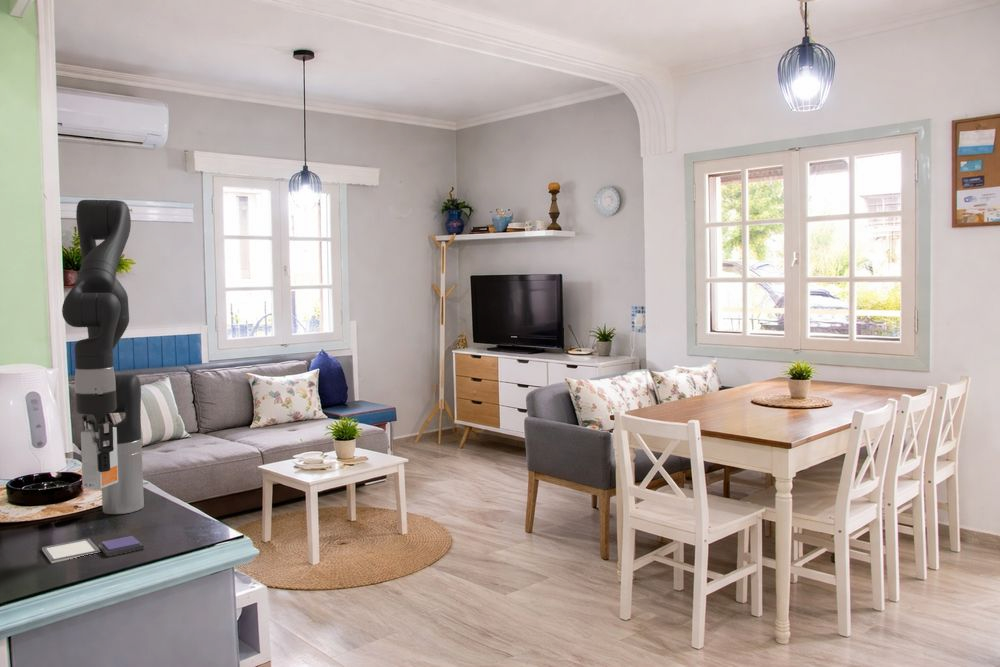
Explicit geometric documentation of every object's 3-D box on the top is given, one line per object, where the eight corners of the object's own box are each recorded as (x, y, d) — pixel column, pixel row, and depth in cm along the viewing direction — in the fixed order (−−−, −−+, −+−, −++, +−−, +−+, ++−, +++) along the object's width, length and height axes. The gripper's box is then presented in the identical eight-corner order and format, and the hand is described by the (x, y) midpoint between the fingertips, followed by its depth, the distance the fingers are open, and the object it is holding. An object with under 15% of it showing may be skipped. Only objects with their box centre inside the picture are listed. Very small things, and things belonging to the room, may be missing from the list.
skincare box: (100, 490, 164) (98, 432, 163) (82, 489, 165) (79, 431, 163) (119, 482, 170) (117, 426, 169) (101, 481, 170) (99, 426, 169)
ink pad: (99, 548, 169) (98, 541, 169) (134, 541, 173) (133, 534, 173) (107, 557, 163) (107, 550, 163) (143, 549, 168) (143, 543, 168)
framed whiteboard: (42, 549, 168) (42, 547, 168) (89, 540, 173) (89, 538, 173) (51, 563, 160) (51, 560, 160) (100, 553, 166) (100, 550, 166)
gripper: (67, 387, 168) (70, 464, 170) (84, 395, 157) (88, 478, 159) (105, 383, 173) (108, 458, 174) (125, 391, 162) (128, 471, 164)
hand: (99, 467), depth 167 cm, fingers closed on skincare box, 7 cm apart
